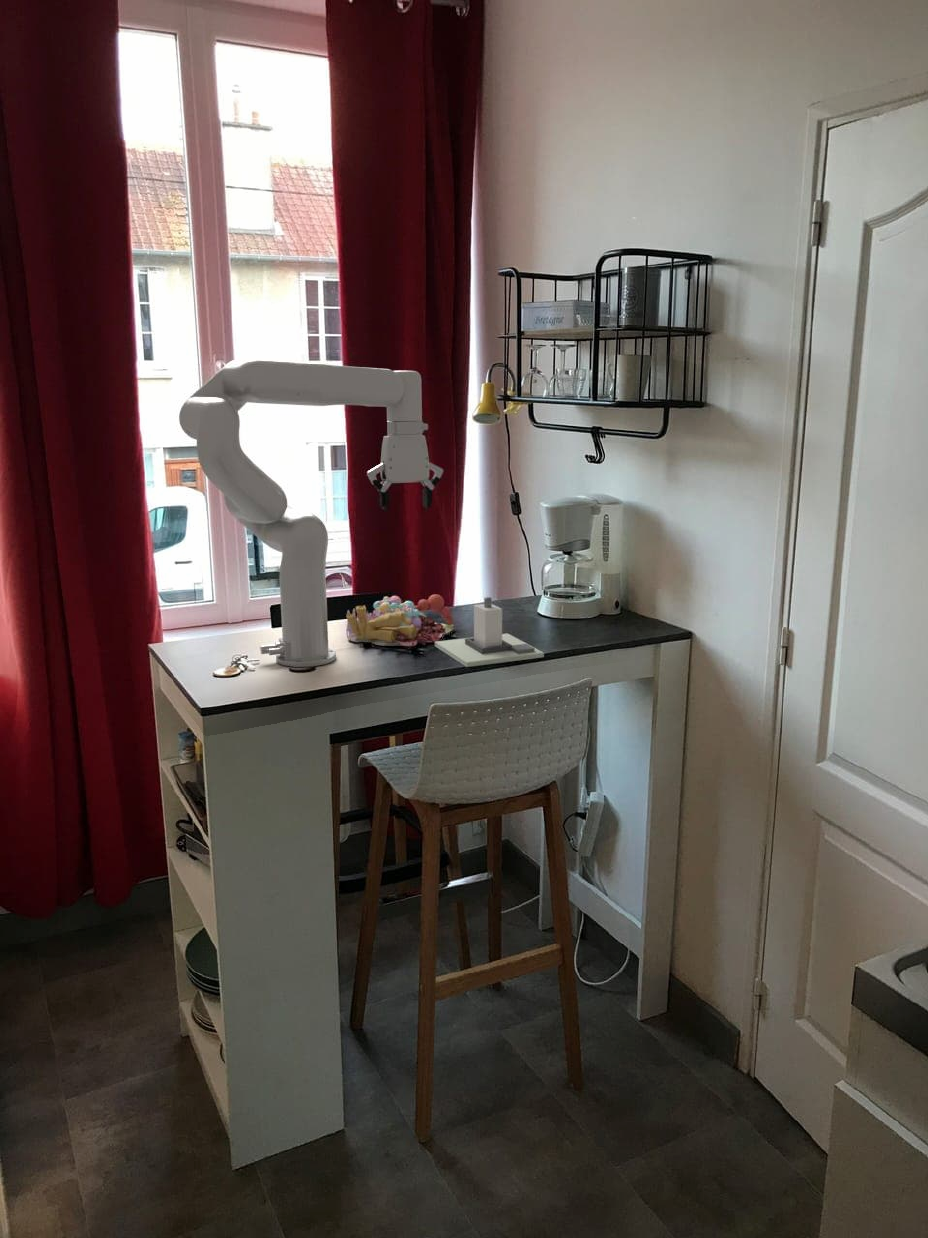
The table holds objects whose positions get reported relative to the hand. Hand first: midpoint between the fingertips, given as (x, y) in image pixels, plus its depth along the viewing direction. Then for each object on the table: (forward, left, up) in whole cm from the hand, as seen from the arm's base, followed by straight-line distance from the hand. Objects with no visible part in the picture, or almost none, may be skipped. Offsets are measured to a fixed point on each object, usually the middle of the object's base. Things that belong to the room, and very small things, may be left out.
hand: (406, 508), depth 214 cm
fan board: (+13, -15, -30) cm, 36 cm away
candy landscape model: (0, +7, -31) cm, 32 cm away
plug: (+13, -15, -29) cm, 35 cm away
